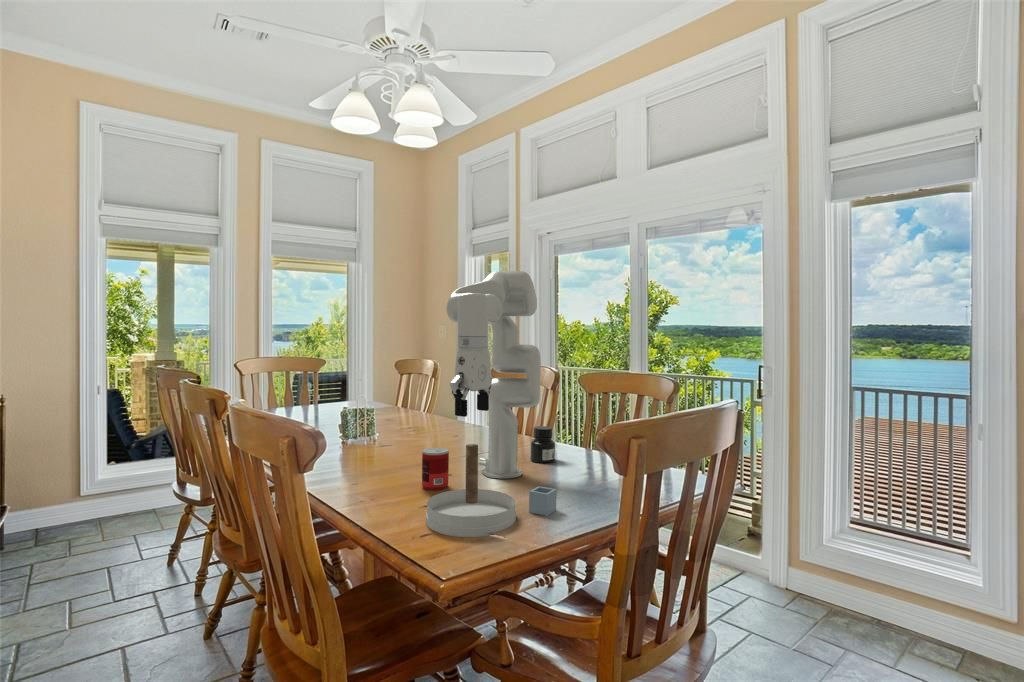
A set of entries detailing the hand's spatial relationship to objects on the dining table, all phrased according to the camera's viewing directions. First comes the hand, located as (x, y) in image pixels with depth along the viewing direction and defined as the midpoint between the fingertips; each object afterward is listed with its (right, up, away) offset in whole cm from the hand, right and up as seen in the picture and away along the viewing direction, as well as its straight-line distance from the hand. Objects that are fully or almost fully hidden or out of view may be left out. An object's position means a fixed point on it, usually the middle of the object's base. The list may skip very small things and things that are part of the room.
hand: (472, 413), depth 135 cm
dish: (0, -27, 0) cm, 27 cm away
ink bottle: (+21, -26, +64) cm, 72 cm away
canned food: (-13, -26, +29) cm, 41 cm away
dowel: (0, -22, 0) cm, 22 cm away
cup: (+18, -27, +6) cm, 33 cm away
